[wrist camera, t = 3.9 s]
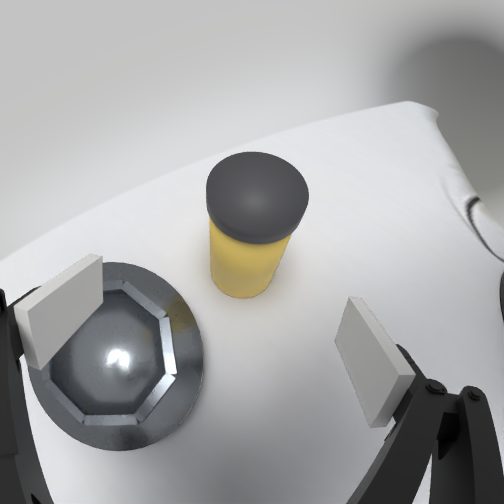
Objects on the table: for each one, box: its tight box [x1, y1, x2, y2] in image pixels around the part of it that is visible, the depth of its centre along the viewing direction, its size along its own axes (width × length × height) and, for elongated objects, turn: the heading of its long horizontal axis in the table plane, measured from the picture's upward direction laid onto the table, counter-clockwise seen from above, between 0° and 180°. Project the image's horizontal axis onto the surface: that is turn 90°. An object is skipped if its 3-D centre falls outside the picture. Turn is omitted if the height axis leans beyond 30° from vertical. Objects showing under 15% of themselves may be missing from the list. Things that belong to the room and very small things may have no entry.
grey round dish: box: [27, 262, 204, 451], centre depth 22 cm, size 16×16×4 cm
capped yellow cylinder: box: [206, 152, 309, 298], centre depth 24 cm, size 6×6×12 cm
